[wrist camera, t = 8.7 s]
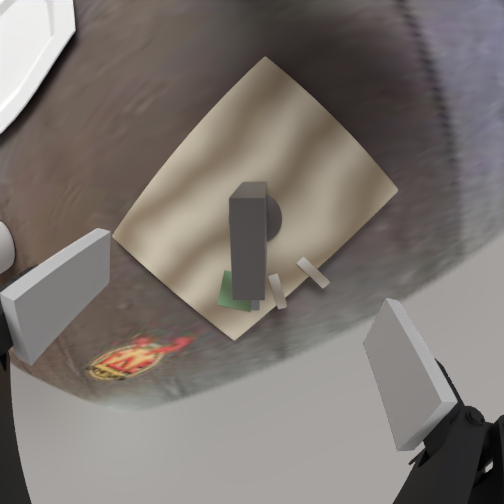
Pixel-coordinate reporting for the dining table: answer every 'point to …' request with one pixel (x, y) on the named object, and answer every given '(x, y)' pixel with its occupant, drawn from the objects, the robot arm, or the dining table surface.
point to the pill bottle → (6, 248)
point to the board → (278, 197)
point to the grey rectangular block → (249, 241)
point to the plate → (29, 49)
